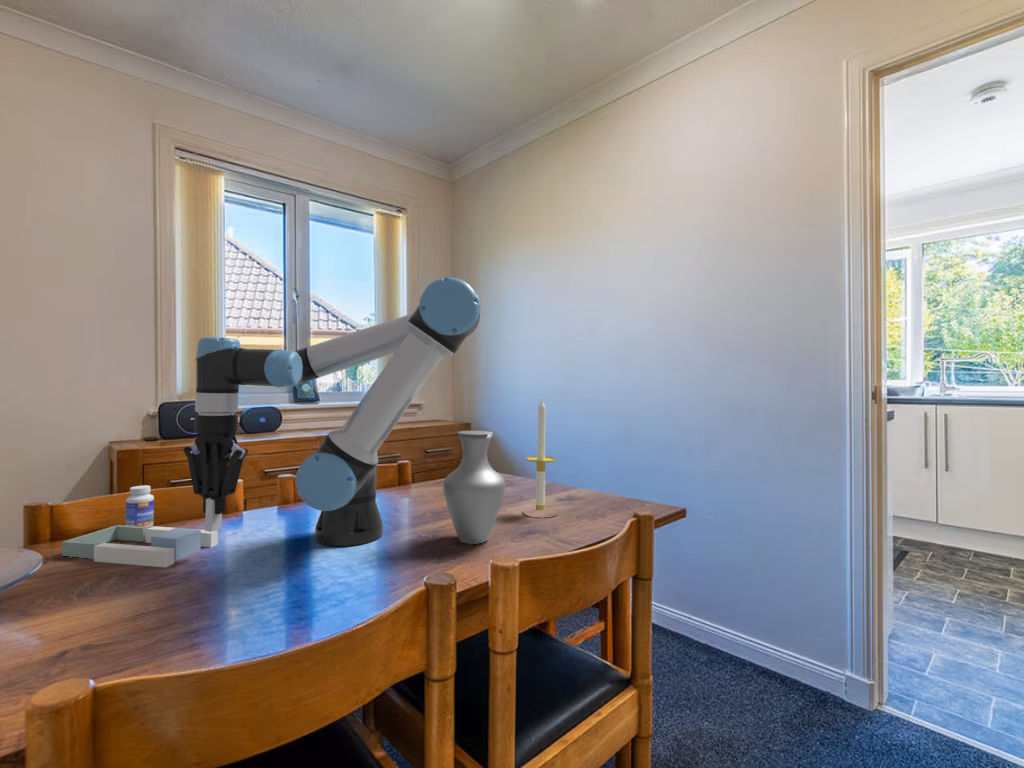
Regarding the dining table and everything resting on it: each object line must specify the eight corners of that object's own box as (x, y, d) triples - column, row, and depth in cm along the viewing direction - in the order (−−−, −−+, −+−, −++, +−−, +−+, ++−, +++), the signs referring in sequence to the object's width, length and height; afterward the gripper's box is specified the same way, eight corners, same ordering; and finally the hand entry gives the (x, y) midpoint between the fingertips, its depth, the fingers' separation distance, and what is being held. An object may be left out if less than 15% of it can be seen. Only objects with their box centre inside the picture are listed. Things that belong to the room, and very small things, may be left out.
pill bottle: (138, 531, 115) (139, 490, 115) (119, 529, 116) (120, 488, 116) (159, 524, 121) (159, 485, 121) (141, 523, 122) (141, 484, 122)
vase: (517, 540, 114) (519, 432, 114) (471, 555, 103) (473, 437, 103) (475, 526, 124) (477, 427, 123) (429, 539, 113) (431, 431, 113)
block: (200, 551, 104) (200, 529, 104) (175, 561, 98) (176, 538, 98) (176, 548, 105) (176, 527, 105) (150, 558, 99) (150, 536, 99)
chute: (217, 544, 107) (218, 530, 107) (165, 567, 94) (165, 551, 94) (153, 539, 110) (153, 526, 110) (93, 561, 96) (93, 546, 96)
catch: (146, 540, 109) (146, 527, 109) (94, 559, 98) (94, 544, 98) (116, 538, 110) (116, 525, 110) (62, 556, 99) (62, 541, 99)
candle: (534, 506, 144) (536, 396, 144) (564, 512, 138) (566, 397, 138) (515, 514, 136) (517, 396, 136) (545, 520, 130) (548, 398, 130)
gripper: (258, 414, 102) (254, 526, 103) (202, 411, 104) (199, 521, 105) (232, 416, 95) (228, 537, 95) (173, 413, 97) (169, 532, 97)
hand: (213, 529), depth 100 cm, fingers closed
